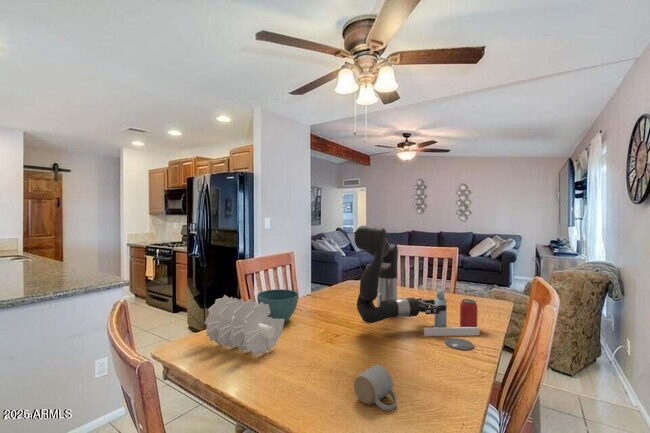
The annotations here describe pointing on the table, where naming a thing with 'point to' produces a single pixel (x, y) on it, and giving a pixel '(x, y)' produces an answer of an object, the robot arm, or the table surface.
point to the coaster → (459, 344)
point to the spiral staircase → (243, 325)
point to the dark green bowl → (279, 303)
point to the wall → (450, 331)
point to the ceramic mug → (375, 386)
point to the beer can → (468, 313)
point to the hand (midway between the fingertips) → (439, 304)
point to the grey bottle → (440, 318)
